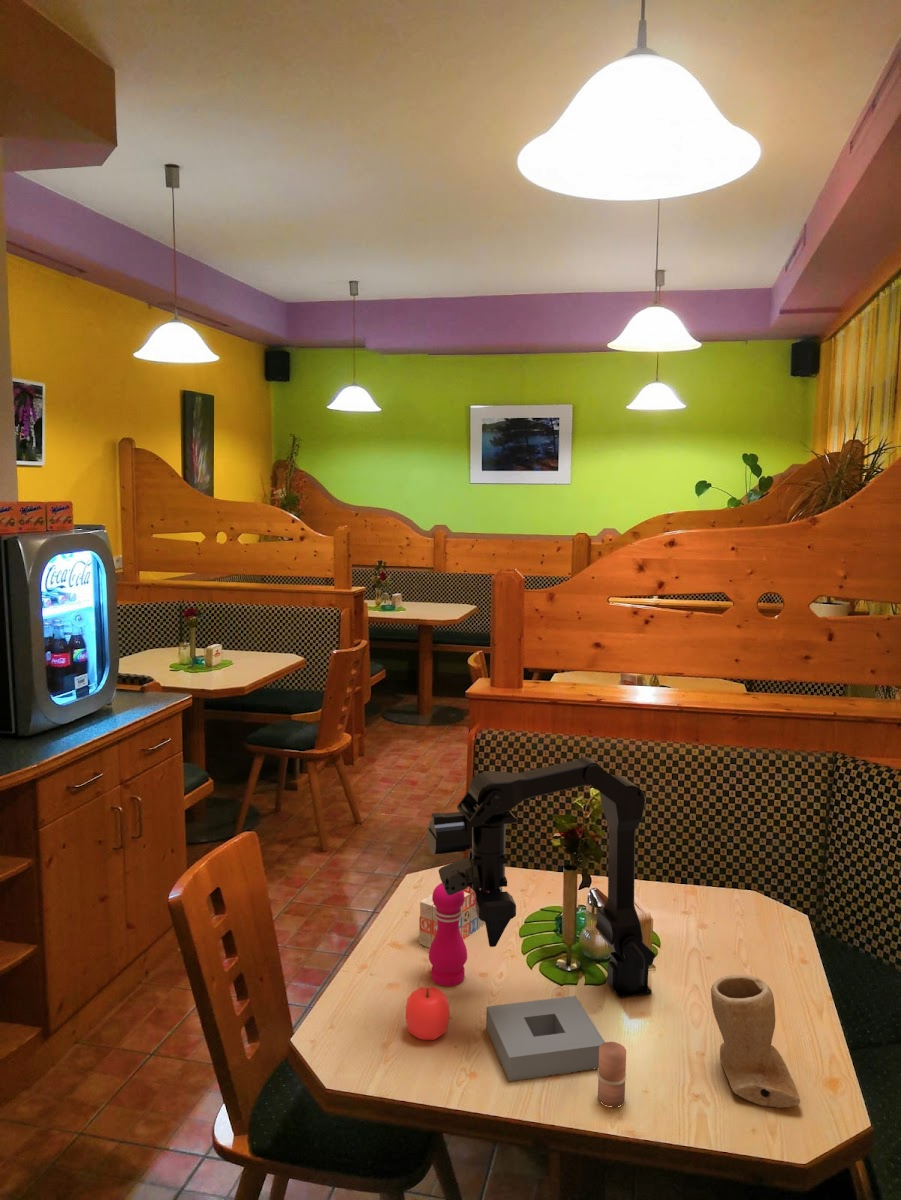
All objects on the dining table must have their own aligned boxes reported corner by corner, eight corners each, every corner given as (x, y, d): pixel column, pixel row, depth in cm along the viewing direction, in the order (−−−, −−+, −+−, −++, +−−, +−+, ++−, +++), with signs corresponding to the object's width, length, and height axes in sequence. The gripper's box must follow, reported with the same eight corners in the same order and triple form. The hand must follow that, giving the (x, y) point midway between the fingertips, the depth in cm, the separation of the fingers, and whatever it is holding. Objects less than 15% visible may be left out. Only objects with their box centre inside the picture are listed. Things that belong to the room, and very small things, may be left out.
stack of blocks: (443, 954, 178) (444, 895, 176) (418, 945, 181) (418, 886, 180) (502, 913, 195) (503, 859, 193) (478, 905, 198) (479, 852, 197)
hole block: (575, 1017, 157) (575, 995, 156) (605, 1067, 143) (606, 1044, 143) (486, 1028, 153) (486, 1006, 153) (509, 1081, 140) (509, 1057, 139)
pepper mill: (463, 990, 165) (464, 886, 162) (424, 985, 166) (425, 882, 164) (470, 969, 172) (471, 869, 169) (433, 965, 173) (433, 866, 171)
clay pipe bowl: (702, 1046, 149) (706, 960, 147) (776, 1051, 148) (781, 965, 146) (718, 1108, 134) (723, 1014, 132) (801, 1115, 133) (807, 1021, 131)
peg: (618, 1088, 138) (620, 1039, 137) (629, 1106, 134) (631, 1056, 133) (592, 1091, 138) (594, 1043, 137) (603, 1110, 133) (604, 1060, 132)
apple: (441, 1051, 147) (441, 1006, 146) (396, 1040, 150) (396, 996, 149) (457, 1024, 154) (458, 980, 153) (414, 1014, 157) (414, 971, 156)
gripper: (435, 829, 163) (435, 910, 165) (449, 873, 145) (449, 964, 147) (496, 826, 165) (495, 907, 167) (517, 869, 146) (516, 959, 148)
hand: (487, 933), depth 157 cm, fingers open, 9 cm apart
